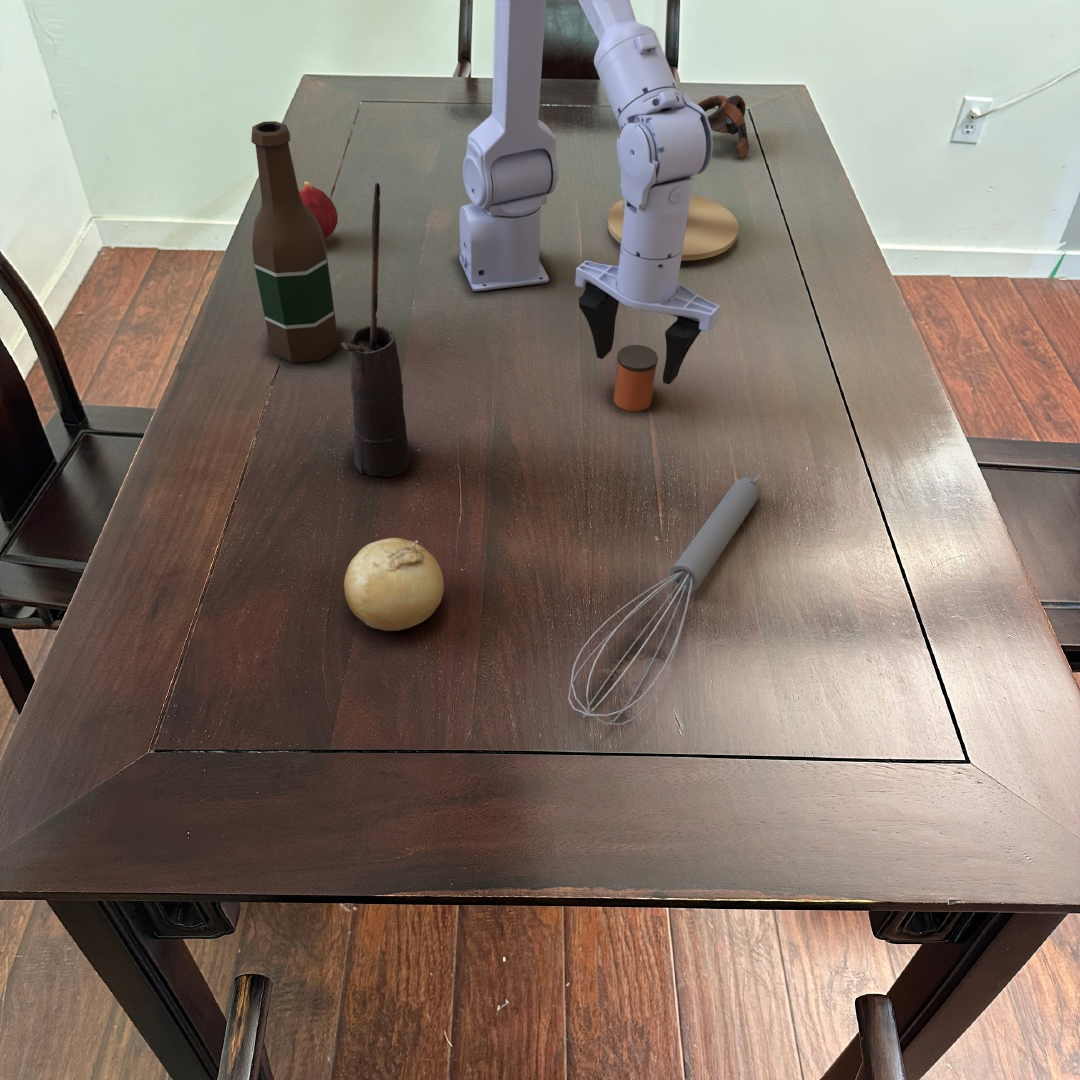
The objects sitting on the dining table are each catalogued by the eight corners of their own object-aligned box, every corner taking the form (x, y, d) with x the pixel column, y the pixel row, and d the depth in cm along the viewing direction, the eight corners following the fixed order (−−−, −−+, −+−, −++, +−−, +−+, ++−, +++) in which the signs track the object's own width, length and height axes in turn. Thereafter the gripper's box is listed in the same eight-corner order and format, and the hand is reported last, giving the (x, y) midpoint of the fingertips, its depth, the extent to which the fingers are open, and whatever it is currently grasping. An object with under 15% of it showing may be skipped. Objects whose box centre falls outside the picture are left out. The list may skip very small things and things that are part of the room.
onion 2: (378, 660, 77) (370, 602, 72) (331, 598, 81) (320, 539, 76) (462, 616, 80) (460, 558, 75) (413, 558, 85) (408, 500, 80)
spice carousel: (745, 263, 120) (760, 190, 113) (609, 258, 120) (616, 184, 113) (729, 199, 132) (741, 129, 125) (605, 194, 132) (611, 124, 125)
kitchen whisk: (783, 496, 92) (798, 445, 87) (621, 761, 71) (629, 713, 67) (724, 473, 94) (735, 422, 89) (550, 724, 74) (553, 675, 69)
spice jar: (620, 414, 100) (625, 370, 96) (607, 391, 103) (612, 347, 99) (657, 408, 101) (664, 365, 97) (643, 385, 103) (649, 342, 100)
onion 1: (345, 233, 124) (338, 173, 118) (334, 256, 120) (326, 194, 114) (301, 230, 124) (291, 169, 119) (288, 252, 120) (278, 191, 115)
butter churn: (338, 510, 89) (292, 228, 69) (315, 446, 95) (266, 170, 75) (434, 487, 91) (416, 208, 71) (405, 426, 97) (382, 154, 77)
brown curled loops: (739, 171, 141) (718, 120, 136) (685, 181, 148) (664, 133, 143) (771, 122, 146) (752, 72, 141) (718, 134, 153) (698, 86, 148)
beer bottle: (326, 369, 104) (293, 149, 86) (258, 359, 104) (211, 138, 87) (350, 330, 109) (323, 114, 92) (285, 320, 110) (246, 105, 93)
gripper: (741, 249, 89) (717, 370, 98) (604, 205, 94) (594, 325, 104) (709, 282, 84) (687, 406, 94) (567, 235, 90) (560, 357, 99)
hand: (636, 366), depth 99 cm, fingers open, 7 cm apart
